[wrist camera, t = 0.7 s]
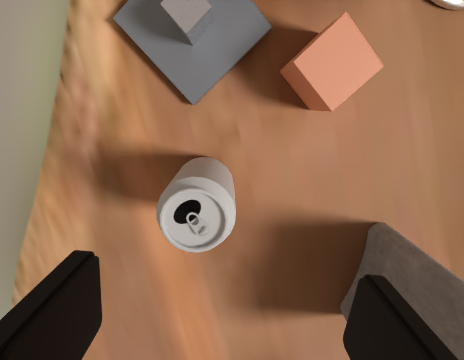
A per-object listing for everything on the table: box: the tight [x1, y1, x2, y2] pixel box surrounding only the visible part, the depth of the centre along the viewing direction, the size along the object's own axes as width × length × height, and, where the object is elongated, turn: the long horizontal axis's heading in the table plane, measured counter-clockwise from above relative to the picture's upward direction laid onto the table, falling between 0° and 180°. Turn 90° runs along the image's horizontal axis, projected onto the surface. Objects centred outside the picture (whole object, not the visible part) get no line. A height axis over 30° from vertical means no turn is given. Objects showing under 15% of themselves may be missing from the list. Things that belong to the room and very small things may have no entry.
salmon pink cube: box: [279, 12, 383, 111], centre depth 27 cm, size 6×6×7 cm
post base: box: [113, 0, 272, 105], centre depth 26 cm, size 12×12×6 cm
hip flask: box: [340, 223, 464, 360], centre depth 29 cm, size 16×4×20 cm, turn 168°
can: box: [157, 157, 236, 253], centre depth 29 cm, size 8×8×12 cm
